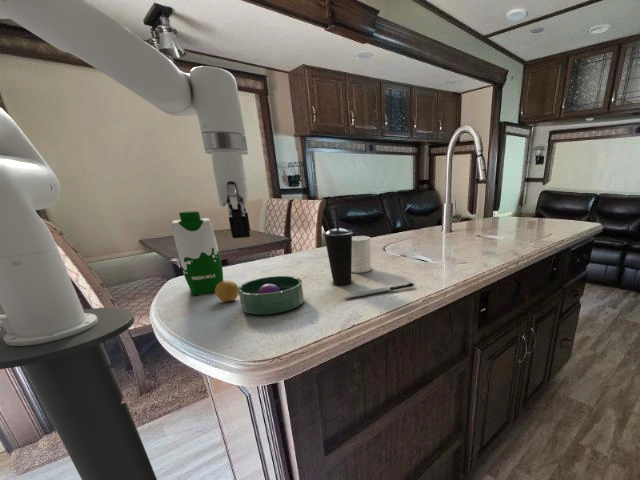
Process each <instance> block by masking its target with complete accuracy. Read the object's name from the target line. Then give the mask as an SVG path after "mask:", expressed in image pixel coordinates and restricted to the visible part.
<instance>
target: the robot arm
mask: <svg viewBox="0 0 640 480" xmlns="http://www.w3.org/2000/svg"><path fill="white" fill-rule="evenodd" d="M8 19H9V20H11V21H13V22H14V23H15V24H17V25H19V26H20V27H22V28H24V29H25V30H27V31H28V32H30V33H32V34H33V35H34V36H36V37H38V38H39V39H41V40H43V41H44V42H46V43H48V44H49V45H50V46H52V47H54V48H56V49H57V50H59V51H61V52H62V53H67V54H69V55H70V54H71V55H72V56H74V57H77V58H78V59H80V60H81V61H82V62H84V63H86V64H87V65H89V66H91V67H93V68H94V69H96V70H97V71H99V72H100V73H102V74H104V75H106V76H107V77H109V78H111V79H112V80H113V81H115V82H117V83H119V84H120V85H121V86H123V87H125V88H126V89H128V90H129V91H131V92H132V93H134V94H136V95H137V96H139V97H140V98H141V99H143V100H145V101H146V102H148V103H150V105H152V106H154V107H155V108H157V109H158V110H160V111H162V112H163V113H165V114H167V115H170V116H174V117H190V116H191V117H192V116H197V118H198V123H199V128H200V134H201V138H202V144H203V148H204V152H205V154H207V155H211V161H212V162H211V163H212V169H213V175H214V178H215V179H214V180H215V185H216V191H217V197H218V203H219V206H221V207H222V208H224V207H226V206H227V210H228V211H227V212H228V222H229V223H228V224H229V227H230V232H231V237H232V238H233V239H243V238H245V239H246V238H250V236H251V234H250V231H251V225H250V219H249V213H248V212H247V208H246V206H247V205H248V187H247V179H246V172H245V165H244V159H243V156H244V155H249V150H248V145H247V144H248V143H247V138H246V131H245V126H244V125H245V124H244V120H243V114H242V108H241V101H240V95H239V89H238V84H237V80H236V78H235V76H234V75H233V74H232V73H231V72H230V71H229V70H226V69H224V68H220V67H217V66H209V65H201V66H195V67H193V68H192V69H191V70H190V72H189V73H187V72H184V71H182V70H180V68H179V67H178V66H177V65H176V64H175V63H174V62H173V61H172V60H171V59H170V58H168V57H167V56H166V55H164V54H163V53H162V52H161V51H160V50H158V49H156V47H153V46H152V45H151V44H149V42H147V41H145V40H144V39H143V38H141V37H140V36H138V35H137V34H135V33H134V32H132V31H131V30H130V29H128V28H127V27H125V26H124V25H122V24H121V23H119V22H118V21H116V19H114V18H112V17H110V16H109V15H107V14H106V13H105V12H104V11H102V10H100V9H99V8H97V7H95V6H94V5H92V4H90V3H89V2H87V1H86V0H0V20H8ZM61 187H62V186H61V184H60V181H59V179H58V177H57V175H56V173H54V171H53V169H52V168H51V167H50V165H49V164H48V163H47V162H46V160H45V158H44V157H43V156H42V155H41V154H40V152H39V151H38V150H37V148H36V147H35V146H34V145H33V143H32V142H31V140H29V137H27V136H26V134H25V133H24V132H23V131H22V129H21V128H20V127H19V125H18V124H17V122H16V121H15V120H14V118H12V117H11V116H10V115H9V114H8V113H7V112H6V111H5V110H4V109H3V108H2V107H0V306H1V309H2V311H3V313H4V314H0V329H4V328H5V329H6V331H7V334H6V335H5V336H4V337H3V339H4V341H5V343H6V344H7V345H10V346H29V345H37V344H42V343H47V342H52V341H56V340H60V339H63V338H67V337H70V336H73V335H76V334H79V333H81V332H84V331H86V330H88V329H90V328H91V327H93V326H94V325H96V324H97V322H98V319H97V316H96V315H94V314H89V313H84V311H83V310H84V309H83V307H82V304H81V301H80V300H79V297H78V294H77V292H76V289H75V286H74V285H73V282H72V280H71V277H70V275H69V272H68V270H67V267H66V265H65V261H64V260H63V257H62V255H61V252H60V249H59V248H58V245H57V243H56V241H55V238H54V236H53V234H52V232H51V231H50V229H49V226H47V224H46V223H45V221H44V220H43V219H42V218H41V215H39V214H38V212H37V211H40V210H41V211H42V210H45V209H49V208H50V207H52V206H54V205H56V204H57V203H58V202H59V200H60V198H61V194H62V188H61Z"/></svg>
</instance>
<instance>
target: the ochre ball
mask: <svg viewBox="0 0 640 480" xmlns="http://www.w3.org/2000/svg"><path fill="white" fill-rule="evenodd" d="M238 288H239V286H238V284H237V283H236V282H235V281H232V280H228V279H227V280H223V281H222V282H220V283H218V284H217V286H216V288H215V292H214V293H215V296H216V297H217V299H219V300H220V301H222V302H227V303H228V302H233V301H235V300H236V299H237V298H238V296H239V293H238Z"/></svg>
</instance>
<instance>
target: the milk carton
mask: <svg viewBox="0 0 640 480" xmlns="http://www.w3.org/2000/svg"><path fill="white" fill-rule="evenodd" d="M178 214H179V219H175V220H172V222H171V230H172V235H173V238H174V244H175V247H176V251H177V254H178V258H179V262H180V266H181V269H182V273H183V276H184V278H185V281H186V283H187V285H188V288H189V290H190V292H191V294H192V296H193V297H194V296H198V295H199V296H200V295H205V294H210V293H215V288H216V286H217V284H218V283H220V282H222V281H224V270H223V264H222V259H221V255H220V251H219V245H218V242H217V238H216V235H215V230H214V229H215V228H214V227H213V224H212V222H211V220H210V218H209V217H205V218H201V215H200V212H199V211H195V210H193V211H181V212H180V211H179V212H178Z"/></svg>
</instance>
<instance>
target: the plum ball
mask: <svg viewBox="0 0 640 480" xmlns="http://www.w3.org/2000/svg"><path fill="white" fill-rule="evenodd" d="M279 291H281V290H280V288H279V287H278V286H276V285H274V284H265V285H263V286H261V287H260V289H259V290H258V293H257V294H264V293H273V292H279Z"/></svg>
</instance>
